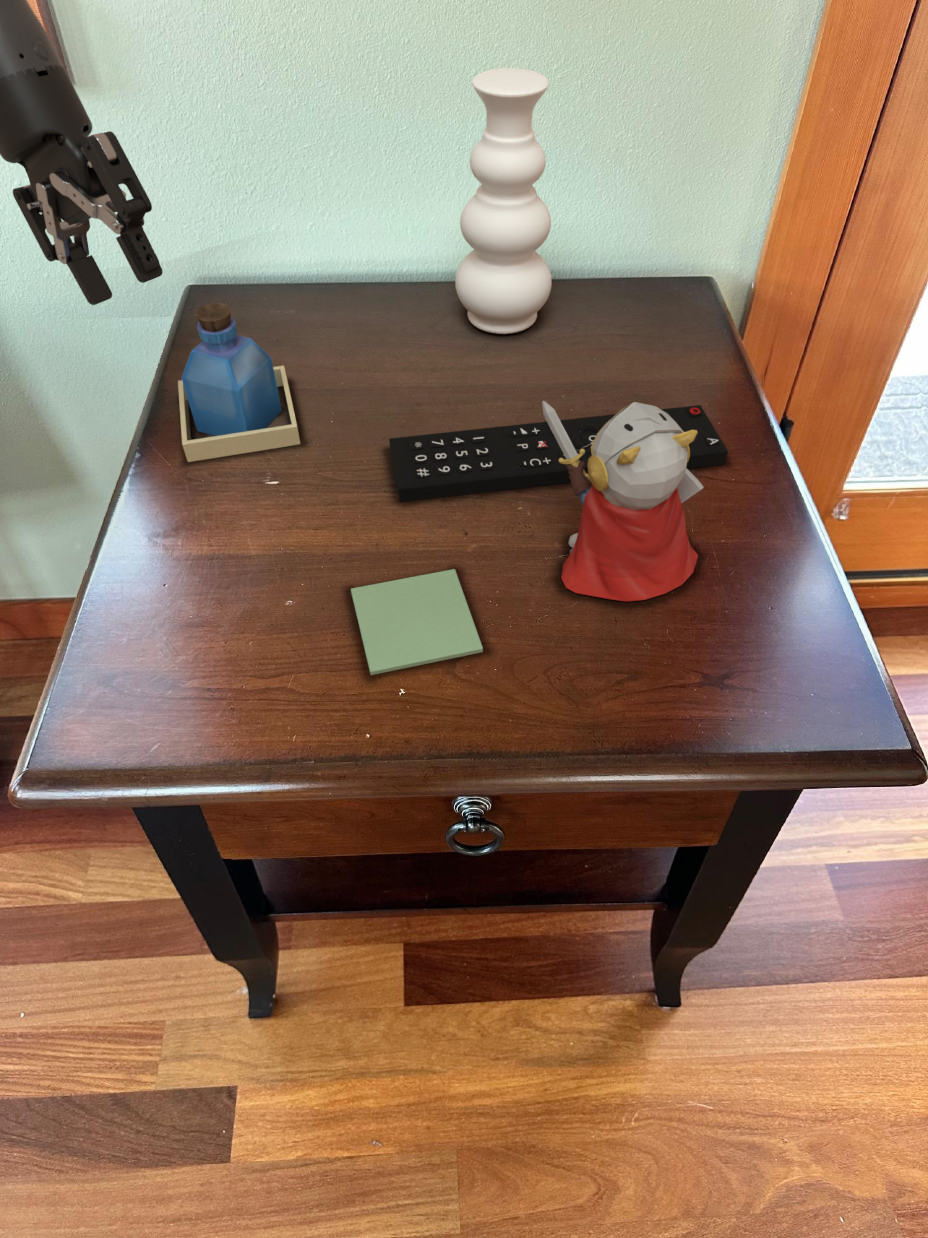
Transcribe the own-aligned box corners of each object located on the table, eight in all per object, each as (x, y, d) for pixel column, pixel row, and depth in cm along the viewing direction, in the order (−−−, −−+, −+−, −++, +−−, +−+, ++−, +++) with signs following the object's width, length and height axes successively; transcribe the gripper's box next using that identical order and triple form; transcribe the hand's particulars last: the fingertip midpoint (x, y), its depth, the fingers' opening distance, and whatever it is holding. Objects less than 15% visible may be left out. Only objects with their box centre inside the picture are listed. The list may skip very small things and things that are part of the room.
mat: (370, 675, 64) (370, 671, 64) (351, 592, 70) (350, 588, 70) (483, 652, 66) (483, 648, 65) (455, 572, 71) (454, 568, 71)
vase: (437, 314, 99) (430, 72, 80) (509, 287, 103) (519, 51, 84) (493, 355, 93) (500, 105, 74) (567, 324, 97) (592, 80, 78)
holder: (187, 462, 81) (181, 444, 79) (183, 398, 88) (177, 380, 86) (300, 444, 83) (297, 426, 81) (287, 382, 90) (284, 364, 88)
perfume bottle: (197, 430, 84) (164, 321, 75) (230, 397, 88) (203, 289, 79) (250, 445, 83) (223, 335, 74) (281, 410, 87) (260, 302, 77)
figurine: (671, 502, 77) (706, 358, 66) (714, 592, 70) (762, 448, 58) (532, 518, 76) (544, 373, 64) (562, 611, 68) (581, 467, 57)
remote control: (727, 464, 81) (732, 447, 79) (399, 502, 77) (398, 485, 76) (699, 417, 86) (703, 400, 84) (390, 451, 82) (388, 434, 81)
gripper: (-62, 123, 67) (52, 322, 74) (11, 49, 58) (134, 285, 65) (20, 107, 72) (120, 295, 79) (100, 35, 62) (205, 256, 70)
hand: (126, 290), depth 72 cm, fingers open, 8 cm apart
